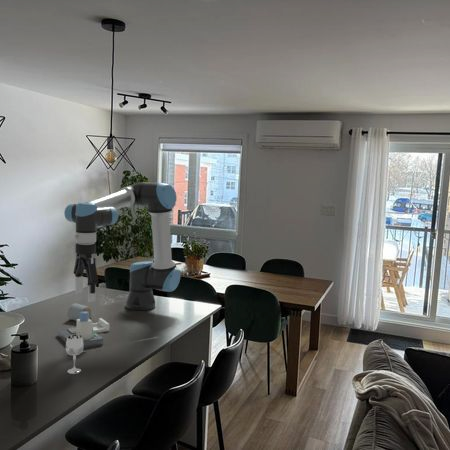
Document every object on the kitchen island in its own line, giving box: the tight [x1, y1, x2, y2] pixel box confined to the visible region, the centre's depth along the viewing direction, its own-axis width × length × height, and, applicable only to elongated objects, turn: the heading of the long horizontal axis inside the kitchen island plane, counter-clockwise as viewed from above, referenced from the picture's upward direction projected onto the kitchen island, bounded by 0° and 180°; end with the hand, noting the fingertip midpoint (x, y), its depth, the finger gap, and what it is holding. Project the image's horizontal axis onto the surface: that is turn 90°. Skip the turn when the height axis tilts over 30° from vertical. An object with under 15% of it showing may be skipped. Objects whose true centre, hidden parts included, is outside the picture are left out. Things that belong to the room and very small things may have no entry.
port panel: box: [57, 326, 104, 349], centre depth 181 cm, size 12×18×3 cm, turn 37°
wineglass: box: [65, 335, 84, 375], centre depth 153 cm, size 6×6×12 cm
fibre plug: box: [75, 312, 93, 340], centre depth 177 cm, size 4×4×13 cm
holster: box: [92, 317, 110, 334], centre depth 194 cm, size 8×9×4 cm
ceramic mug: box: [67, 302, 93, 322], centre depth 207 cm, size 11×8×8 cm
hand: (85, 297), depth 176 cm, fingers open, 13 cm apart
